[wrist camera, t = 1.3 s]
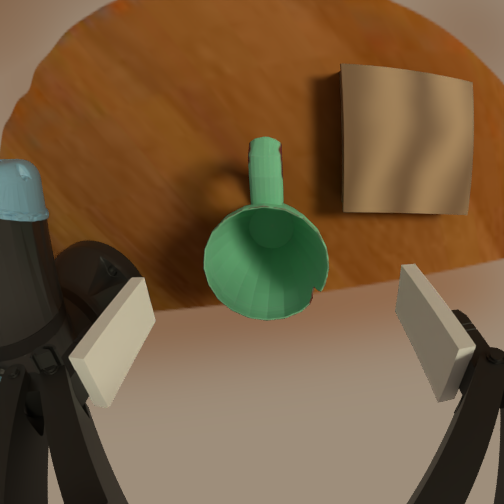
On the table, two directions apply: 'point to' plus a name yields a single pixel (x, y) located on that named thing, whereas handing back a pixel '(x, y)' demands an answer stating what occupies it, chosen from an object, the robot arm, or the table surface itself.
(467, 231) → the table surface
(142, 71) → the table surface
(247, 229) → the mug
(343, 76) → the walnut board
